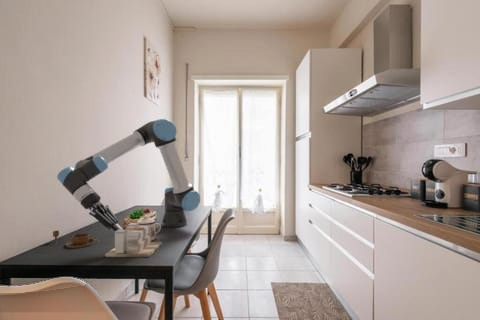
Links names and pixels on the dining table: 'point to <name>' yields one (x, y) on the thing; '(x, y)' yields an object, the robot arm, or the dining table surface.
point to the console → (138, 244)
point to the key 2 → (133, 224)
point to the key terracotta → (130, 229)
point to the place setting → (77, 240)
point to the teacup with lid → (149, 222)
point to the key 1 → (120, 241)
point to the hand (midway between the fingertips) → (124, 236)
